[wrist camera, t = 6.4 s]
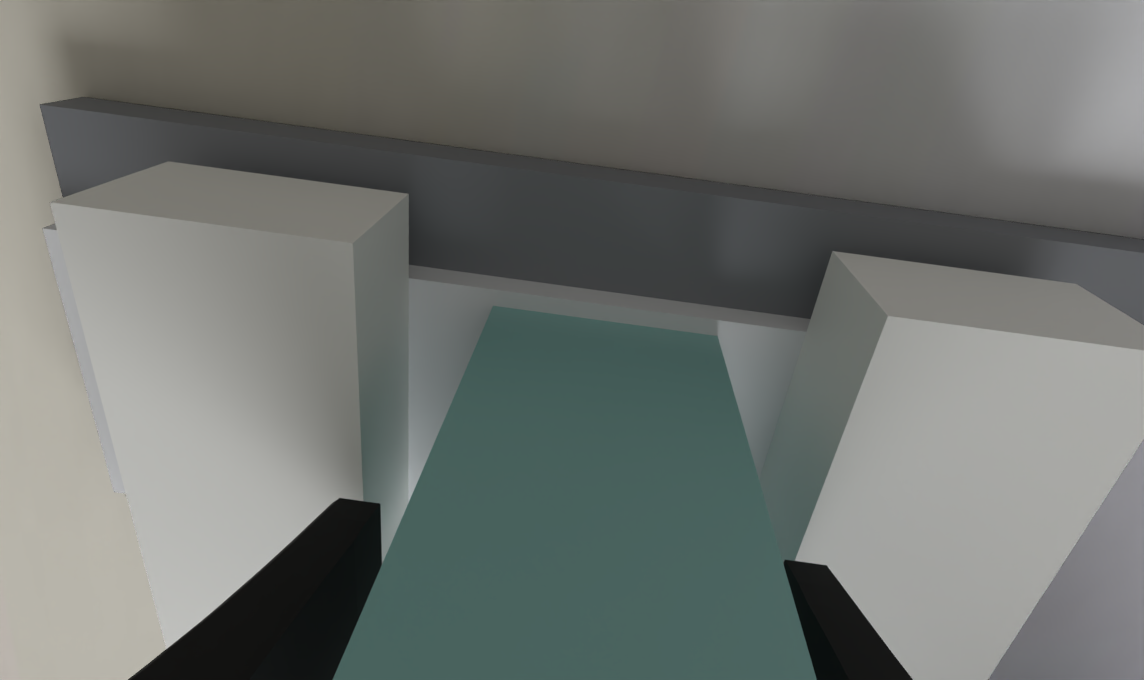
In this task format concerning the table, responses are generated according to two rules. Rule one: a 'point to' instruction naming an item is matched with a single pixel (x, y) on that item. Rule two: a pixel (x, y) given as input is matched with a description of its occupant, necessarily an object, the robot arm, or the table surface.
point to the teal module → (584, 521)
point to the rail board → (595, 291)
